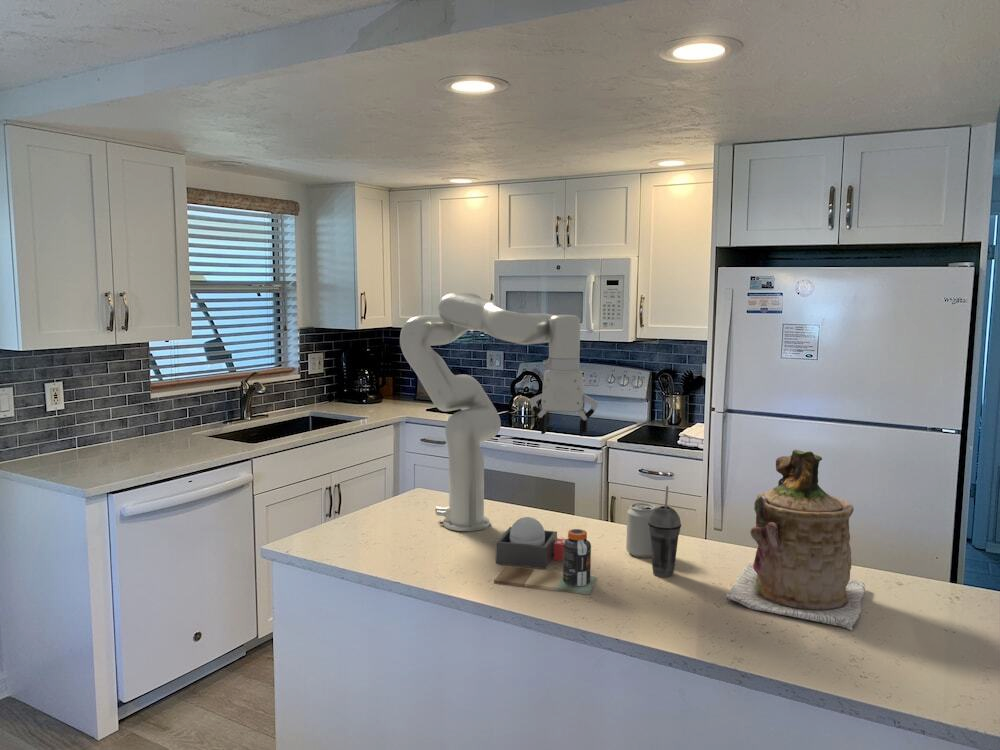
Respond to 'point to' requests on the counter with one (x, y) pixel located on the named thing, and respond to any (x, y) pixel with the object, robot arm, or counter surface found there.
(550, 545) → the box
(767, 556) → the cookie jar
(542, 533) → the dome
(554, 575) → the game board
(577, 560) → the pill bottle
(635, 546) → the can
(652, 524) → the beverage cup
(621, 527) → the counter surface
